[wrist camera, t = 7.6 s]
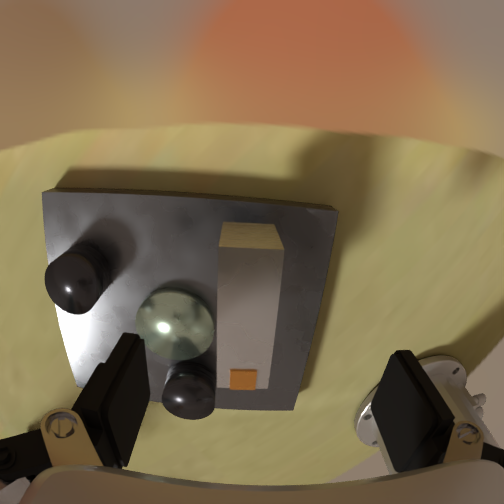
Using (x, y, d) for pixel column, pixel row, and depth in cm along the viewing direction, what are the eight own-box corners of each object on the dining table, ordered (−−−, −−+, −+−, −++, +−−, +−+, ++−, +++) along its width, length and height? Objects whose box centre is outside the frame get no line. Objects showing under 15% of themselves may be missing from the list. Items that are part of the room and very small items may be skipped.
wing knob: (225, 210, 17) (218, 247, 11) (269, 212, 17) (284, 250, 11) (221, 321, 19) (216, 389, 14) (259, 322, 19) (267, 390, 14)
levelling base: (331, 205, 19) (352, 222, 15) (290, 397, 24) (297, 432, 20) (53, 188, 17) (20, 200, 14) (83, 375, 23) (67, 405, 19)
